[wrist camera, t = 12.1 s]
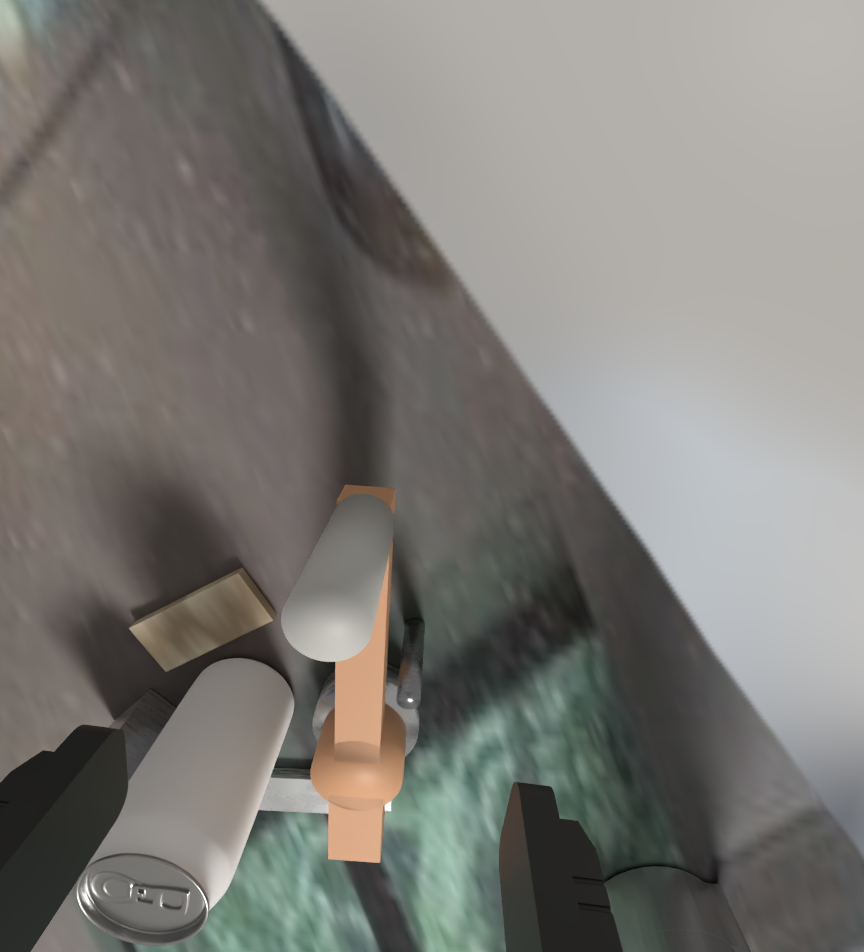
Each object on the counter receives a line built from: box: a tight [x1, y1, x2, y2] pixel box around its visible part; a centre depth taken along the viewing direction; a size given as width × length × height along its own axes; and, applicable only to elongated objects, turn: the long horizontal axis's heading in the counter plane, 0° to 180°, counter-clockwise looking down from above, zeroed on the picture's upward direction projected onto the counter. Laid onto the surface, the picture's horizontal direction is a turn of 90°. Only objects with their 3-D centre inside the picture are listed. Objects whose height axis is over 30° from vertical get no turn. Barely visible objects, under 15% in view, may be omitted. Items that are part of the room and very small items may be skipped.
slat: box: [129, 567, 276, 672], centre depth 31 cm, size 4×1×8 cm
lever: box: [281, 485, 407, 863], centre depth 24 cm, size 23×5×10 cm, turn 176°
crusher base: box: [109, 618, 425, 813], centre depth 30 cm, size 20×15×7 cm
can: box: [75, 658, 294, 946], centre depth 27 cm, size 6×6×12 cm
